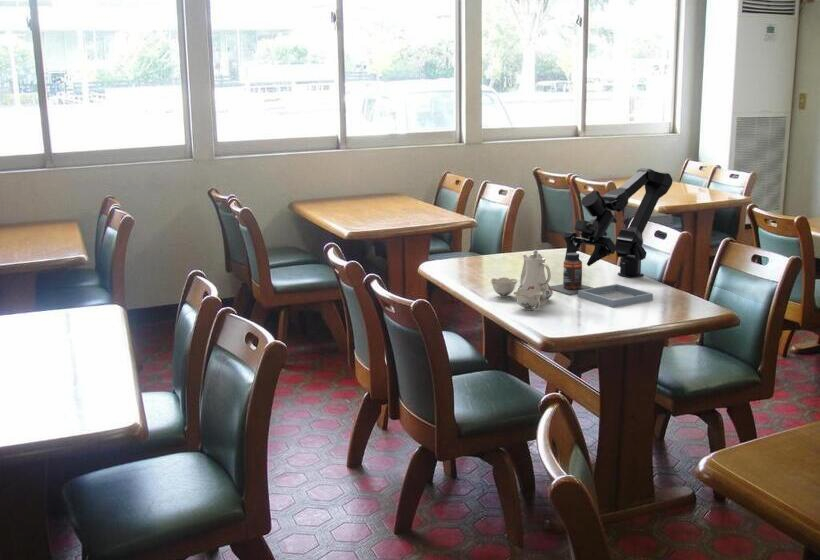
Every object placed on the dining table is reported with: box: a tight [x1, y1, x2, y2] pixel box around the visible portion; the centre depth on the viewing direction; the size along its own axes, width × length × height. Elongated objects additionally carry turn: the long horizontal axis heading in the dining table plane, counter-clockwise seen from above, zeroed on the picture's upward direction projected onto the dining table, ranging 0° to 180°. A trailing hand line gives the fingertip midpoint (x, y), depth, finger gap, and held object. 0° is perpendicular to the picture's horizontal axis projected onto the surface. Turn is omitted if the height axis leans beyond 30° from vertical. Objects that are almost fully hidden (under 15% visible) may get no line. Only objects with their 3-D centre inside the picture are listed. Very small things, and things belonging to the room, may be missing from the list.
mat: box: [549, 283, 594, 296], centre depth 290 cm, size 12×12×1 cm
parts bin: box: [577, 283, 654, 308], centre depth 277 cm, size 16×16×2 cm
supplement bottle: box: [562, 252, 583, 289], centre depth 289 cm, size 6×6×11 cm
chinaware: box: [490, 249, 554, 311], centre depth 274 cm, size 28×17×17 cm, turn 24°
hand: (576, 263), depth 290 cm, fingers open, 9 cm apart
